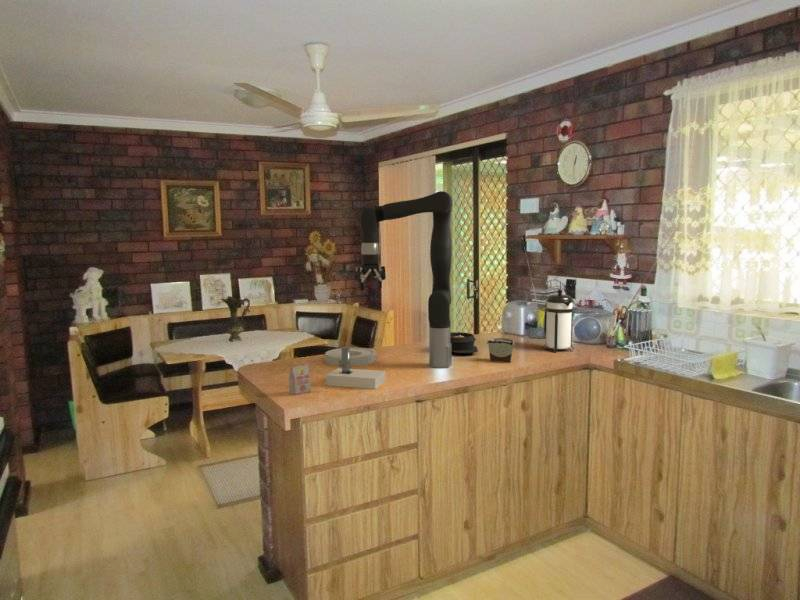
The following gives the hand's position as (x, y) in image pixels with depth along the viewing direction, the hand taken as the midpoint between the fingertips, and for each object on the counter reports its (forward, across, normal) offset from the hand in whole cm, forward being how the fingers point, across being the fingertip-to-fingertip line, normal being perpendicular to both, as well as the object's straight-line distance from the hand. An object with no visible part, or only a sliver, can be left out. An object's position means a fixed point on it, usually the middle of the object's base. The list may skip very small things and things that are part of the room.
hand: (370, 290), depth 250 cm
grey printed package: (+33, -45, -24) cm, 61 cm away
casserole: (+33, +49, -1) cm, 59 cm away
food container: (+33, +52, -28) cm, 68 cm away
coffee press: (+33, +92, -25) cm, 101 cm away
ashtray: (+34, -4, +12) cm, 36 cm away
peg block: (+33, -21, -24) cm, 46 cm away
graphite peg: (+33, -24, -21) cm, 46 cm away
